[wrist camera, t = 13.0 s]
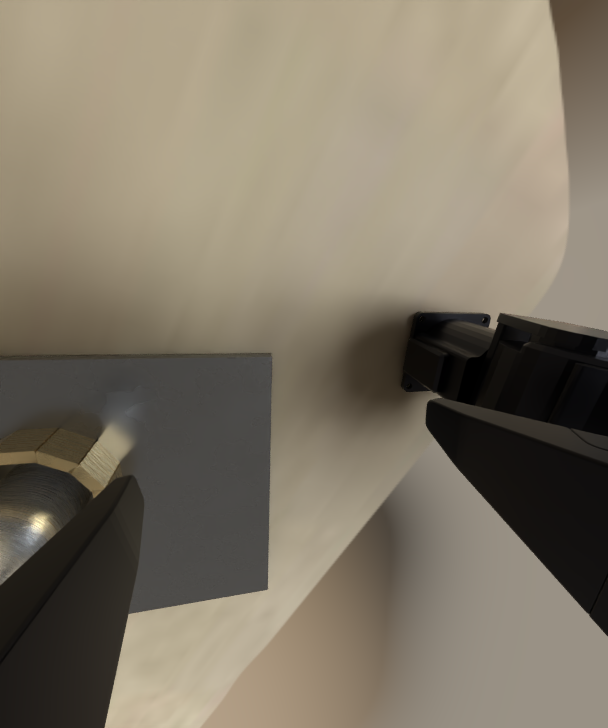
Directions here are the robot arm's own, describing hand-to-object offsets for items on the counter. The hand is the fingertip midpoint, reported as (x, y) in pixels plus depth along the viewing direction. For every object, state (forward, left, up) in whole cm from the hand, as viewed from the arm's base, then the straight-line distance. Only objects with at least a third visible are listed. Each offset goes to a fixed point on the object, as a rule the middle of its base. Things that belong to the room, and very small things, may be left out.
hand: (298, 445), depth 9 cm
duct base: (+9, +13, -13) cm, 21 cm away
